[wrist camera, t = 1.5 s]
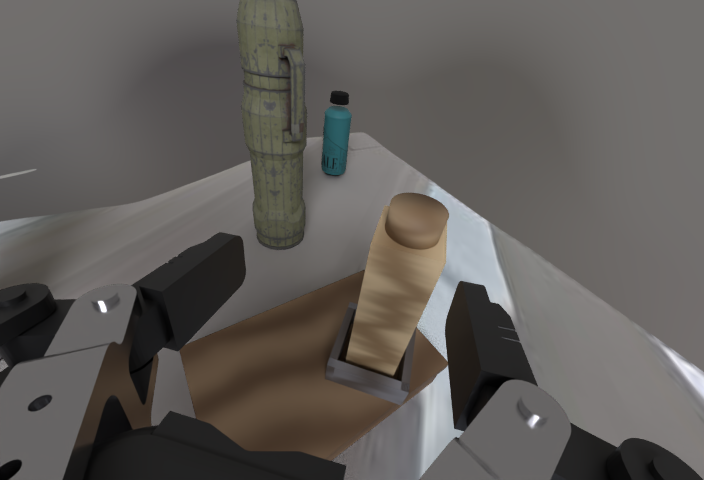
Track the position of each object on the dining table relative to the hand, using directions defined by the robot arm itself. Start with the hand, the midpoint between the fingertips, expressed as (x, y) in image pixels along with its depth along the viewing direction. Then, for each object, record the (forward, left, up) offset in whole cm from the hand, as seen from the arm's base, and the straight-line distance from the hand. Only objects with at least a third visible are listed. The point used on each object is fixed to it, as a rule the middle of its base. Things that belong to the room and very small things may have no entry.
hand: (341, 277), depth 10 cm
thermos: (-35, +12, -28) cm, 46 cm away
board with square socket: (-8, +5, -27) cm, 29 cm away
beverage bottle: (-52, +34, -28) cm, 67 cm away
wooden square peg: (-5, +10, -22) cm, 25 cm away
